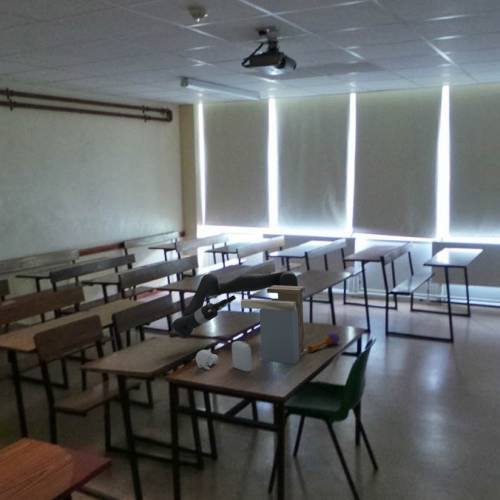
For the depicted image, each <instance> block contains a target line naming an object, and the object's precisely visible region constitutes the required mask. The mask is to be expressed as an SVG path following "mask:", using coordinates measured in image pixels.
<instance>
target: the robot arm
mask: <svg viewBox="0 0 500 500" xmlns="http://www.w3.org/2000/svg"><path fill="white" fill-rule="evenodd" d="M218 279H219V278H218V277H217V275H216V274H214V273H210V272H209V273H206V274H204V275H203V276H202V278H201V279H200V281H199V283H198V286H197V289H196V291H195V293H194V295H193V297H192V298H191V301H190V303H189V304H188V305H187V307H186V308H185V310H184V311H183V314H182V316H181V317H180V316H179V317H178V318H176V319H174V321H173V322H172V323H171V328H172V330H173V331H174V332H175V333H176V334H177V335H178V336H179V337H180V338H182V339H187V338H189V337H190V336H191V335H192V333H193V330H194V329H196V328H199V327H200V326H201V325H203V324H206V323H209V322H210V321H211V320H213V319H215V318H217V317H218V314H219V312H220V311H221V310H223V309H224V308H225V307H227V306H228V305H229V304H231V303H232V302H233V301H235V300H236V299H237V298H236V296H235V293H246V292H256V291H257V292H258V291H261V290H265V289H267V288H269V287H271V286H273V285H277V286H298V277H297V275H296V274H295V272H293V271H291V270H286V271H280V272H273V273H249V274H248V273H247V274H241V275H239V276H238V277H236V278H233V279H232V280H229V281H227V282H226V281H225V282H219V280H218ZM226 294H233V295H231V296H229V297H227V298H224V299H222V300H220V301H216V302H215V303H212V302H208V303H206V304H204V303H205V301H206V297H207V296H208V297H215V296H220V295H226Z"/></svg>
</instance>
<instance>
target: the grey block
mask: <svg viewBox="0 0 500 500" xmlns="http://www.w3.org/2000/svg"><path fill="white" fill-rule="evenodd" d="M259 326H260V327H259V331H260V352H261V361H262V362H263V361H264V362H271V363H280V364H281V363H282V364H290V365H295V364H296V363H297V362H299V360H300V359H301V357H300V354H299V328H298V308H296V310H294V311H285V310H269V309H259Z"/></svg>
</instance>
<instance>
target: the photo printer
mask: <svg viewBox="0 0 500 500" xmlns="http://www.w3.org/2000/svg"><path fill="white" fill-rule="evenodd" d="M231 358H232V367H233V368H235V369H238V370H240V371H243V372H251V371H252V370H253V366H252V363H253V362H252V349H251V346H250V344H248V343H246V342H245V341H242V340H241V341H240V340H238V341H237V340H236V341H233V342H232V343H231Z"/></svg>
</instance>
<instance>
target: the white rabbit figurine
mask: <svg viewBox="0 0 500 500" xmlns="http://www.w3.org/2000/svg"><path fill="white" fill-rule="evenodd" d="M195 361H196V364H197V367H198V368H199V369H204V370H209V371H210V369H211V368H210V366H212V365H216V364H217V363H218V361H219V357H218V355H217V354H213V353H212V352H211V351H210V350H208V349H201V350H200V351H198V352H197V353H196V356H195ZM207 364H208V365H207Z"/></svg>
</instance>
